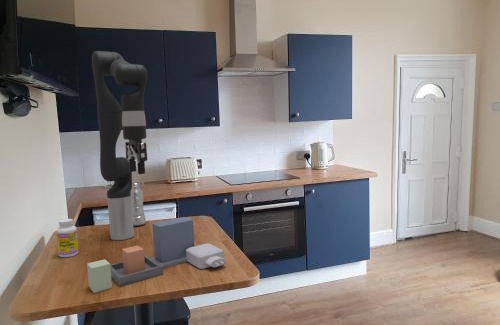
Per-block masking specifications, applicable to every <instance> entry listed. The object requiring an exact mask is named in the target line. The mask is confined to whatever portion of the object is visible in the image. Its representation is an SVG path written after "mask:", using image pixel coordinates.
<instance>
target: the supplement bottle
mask: <svg viewBox="0 0 500 325" xmlns="http://www.w3.org/2000/svg"><path fill="white" fill-rule="evenodd" d="M58 225H59V227H58V228H57V229H56V238H57V239H56V240H57V252H58V257H60V258H71V257H74V256H76V255H78V254H79V239H78V238H79V237H78V229H77V228H78V227H77V226H75V225H74V219H73V218H65V219H61V220H59V221H58Z"/></svg>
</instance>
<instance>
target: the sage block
mask: <svg viewBox="0 0 500 325" xmlns="http://www.w3.org/2000/svg"><path fill="white" fill-rule="evenodd" d="M110 265H111V263H110V262H109V261H107V260H106V259H105V258H104V259H101V260H96V261H92V262H87V263H86V266H87V267H86V270H87V278H88V287H90V288H89V289H90V290H91V291H93V292H92V293H93V294H95V293H99V292H102V291H105V290H108V289H112V288H113V284H112V278H111V269H110Z"/></svg>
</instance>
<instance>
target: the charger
mask: <svg viewBox="0 0 500 325" xmlns="http://www.w3.org/2000/svg"><path fill="white" fill-rule="evenodd" d="M224 256H225V255H224V249H221V248H219V247H218V246H215V245H214V244H211V243H204V244H198V245H195V246H194V247H190V248H188V249H187V250H186V260H187V261H188V262H187V263H189V264H191V265H193V266H195V267H196V268H198V269H200V270H204V269H207V268H217V267H220V266H222V265H225V263H226V259H225V257H224Z"/></svg>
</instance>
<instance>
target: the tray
mask: <svg viewBox="0 0 500 325" xmlns="http://www.w3.org/2000/svg"><path fill="white" fill-rule="evenodd" d="M150 257H151V256H150ZM150 257H149V256H148V255H144V260H145V270H142V271H139V272H135V273H132V274H127V273H126V272H124V267H123V261H119V262H116V263H110V269H111V280H113V281H114V282H115V283H116V284H117V285H118V286H119V287H120V288H121V287H123V286H127V285H131V284H133V283H137V282H141V281H145V280H148V279H151V278H155V277H159V276H162V275H164V268H163V266H162V265H160V264H159V263H157V262H156V261H154V260H153V259H151V258H150Z"/></svg>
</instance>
